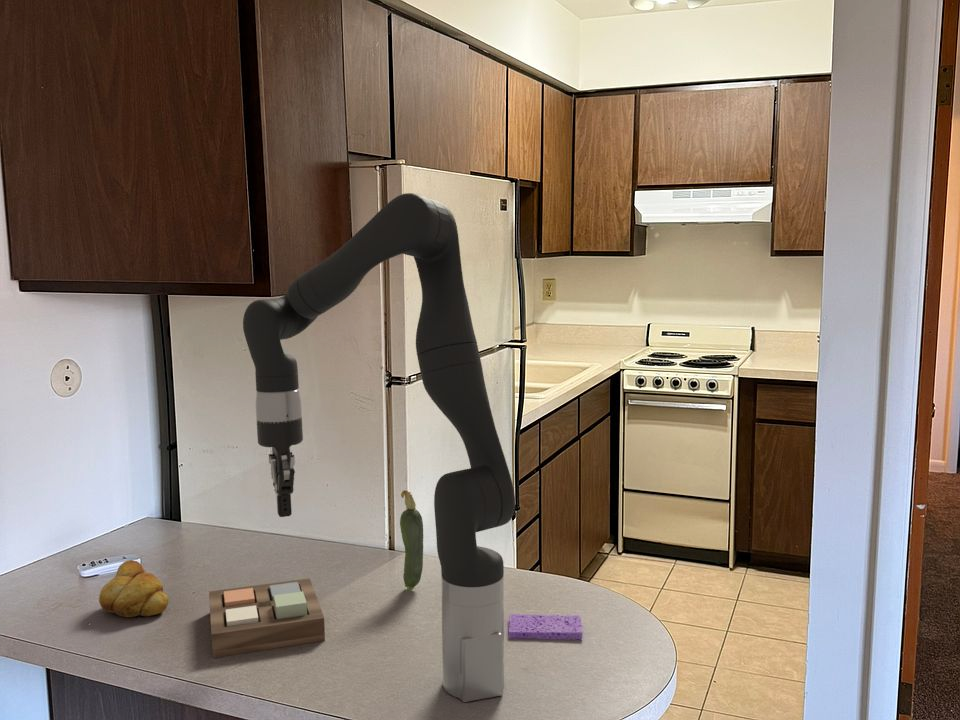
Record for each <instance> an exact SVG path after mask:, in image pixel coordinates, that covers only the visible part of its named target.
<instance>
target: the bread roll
mask: <svg viewBox="0 0 960 720" xmlns="http://www.w3.org/2000/svg"><path fill="white" fill-rule="evenodd" d="M162 583H163V582H162V581H161V580H160V579H159V578H158V577H157V576H155V575H154V574H153V573H150V572H146V570H145V568H144V566H143V565H142V564H141V562H139V561H137V560H135V559H134V560H133V559H130V560H126V561H123V562H122V563H120V565H119V566H118V568H117V570H116V573H115V576H114V577H113V578H112V579H110V580H109V581H108V582H106V584H105V585H104V586H103V587H101V588H102V589H100V593H99V596H98V597H99V599H98V601H99V605H100V607H101V608H102V610H103V611H106V612H107V613H112V614H116V615H117V616H120V617H125V618H132V617H134V618H135V617H136V616H140V615H141V617H142V616H143V617H151V616H155V615H158V614H161V613H163V612H164V611H166V609H167V607H168V605H169V595H167V594H166V593H165V592H164V586H163V584H162Z"/></svg>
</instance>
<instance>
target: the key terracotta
mask: <svg viewBox="0 0 960 720" xmlns="http://www.w3.org/2000/svg"><path fill="white" fill-rule="evenodd" d="M251 603H255V597H254V592H253V588H247V589H239V590H232V591H224V605H225V607H229V606H236V605H244V604H251Z"/></svg>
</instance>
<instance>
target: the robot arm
mask: <svg viewBox="0 0 960 720" xmlns="http://www.w3.org/2000/svg"><path fill="white" fill-rule="evenodd" d="M400 255H406V256H410V257H413V259H414V262H415V265H416V269H417V272H418V278H419V281H420V286H421V297H422V298H421V305H420V306H421V307H420V312H419V317H418V323H417V328H416V334H415V350H416V357H417V362H418V366H419V371H420V376H421V380H422V384H423V387H424V389H425V392H426V393H427V395H428V396H429V398H430V400H432V402H433V403H434V404H435V405H436V407H437V408H438V409H439V410H440V411H441V413H442V414H443V415H444V416H445V417H446V419H447V420H448V421H449V422H450V423H451V425H453V427H454V428H455V429H456V431H457V433H458V434H459V435H460V438H461V440H462V442H463V445H464V448H465V451H466V454H467V457H468V460H469V464H470V467H469V468H464V469H460V470H455V471H451V472H448V473H445V474H443V475H441V476H440V478H439V479H438V481H437V482H436V484H435V485H436V486H435V489H434V494H433V495H434V496H433V497H434V499H433V507H434V509H433V510H434V521H435V523H434V524H435V537H436V550H437V557H438V560H439V563H440V568H441V569H440V573H441V575H440V576H441V631H442V632H441V638H442V639H441V641H442V643H441V644H442V646H441V647H442V654H441V655H442V686H443V689H444V691H445V692H446V693H448V694H449V695H451V696H452V697H455V698H458V699H460V700H461V701H462V702H463V703H468V702H472V701H473V702H474V701H478V700H483V699H484V700H485V699H488V698H494V697H499V696H503V695H504V686H505V649H504V648H505V642H504V641H505V637H504V636H505V633H504V632H505V631H504V628H505V627H504V626H505V624H504V623H505V621H504V620H505V619H504V618H505V617H504V615H505V613H504V612H505V611H504V610H505V609H504V608H505V607H504V606H505V605H504V597H505V596H504V593H505V592H504V589H505V588H504V587H505V586H504V584H505V583H504V582H505V581H504V579H505V578H504V575H505V573H504V569H505V568H504V564H505V563H504V559H503V556H501V554H500V553H499V552H497V551H495V550H494V549H492V548H488V547H483V546H479V545H477V535H476V533H478V532H483V531H486V530H490V529H494V528H498V527H502V526H504V525H506V524H508V523H509V522H510V521H511V520H512V518H514V517H513V516H514V514H515V509H516V496H515V490H514V484H513V480H512V477H511V474H510V470H509V466H508V464H507V463H508V462H507V460H506V457H505V454H504V450H503V448H502V444H501V441H500V438H499V435H498V432H497V428H496V424H495V421H494V417H493V413H492V409H491V404H490V401H489V400H490V399H489V396H488V392H487V388H486V382H485V376H484V371H483V366H482V365H483V364H482V359H481V355H480V351H479V345H478V341H477V338H476V334H475V331H474V325H473V322H472V317H471V316H472V315H471V311H470V306H469V301H468V296H467V293H466V288H465V283H464V276H463V270H462V268H463V267H462V259H461V250H460V240H459V233H458V225H457V221H456V219H455V216H454V214H453V212H452V211H451V209H450V208H449V207H448V206H446V205H445V204H444V203H442V202H441V201H438V200H436V199H433V198H429V197H427V196H424V195H422V194H419V193H413V192H406V193H401V194H400V195H397V196H395V197H394V198H393V199H391V200H390V201H389V202H388V203H386V204H385V205H384V206H383V207H382V208H381V209H380V210H379V211H378V212H377V213H376V214H374V216H373V217H372V218H370V219H369V220H368V222H367V223H366V224H364V225H363V227H361V228H360V230H358V231H357V232H356V233H355V234H354V235H352V237H351V238H349V239H348V241H347V242H345V243H344V244H342V246H341V247H340V248H339V249H337V250H336V251H334V253H332V254H331V255H330V256H328V257H327V258H326V259H324V260H323V261H321V262H319V263H318V264H317V265H315V266H314V267H312V268H311V269H309V270H308V271H306V272H305V273H303V274H302V275H300V276H299V277H298V278H296V279H295V280H294V281H293V282H291V284H290V285H289V287H288V289H287V294H285V295H283V296H281V297H277V298H264V299H263V298H262V299H257V300H254V301H252V302H251V303H250V304H248V305H247V307H246V309H245V311H244V314H243V317H242V318H243V319H242V330H243V334H244V337H245V342H246V345H247V347H248V351H249V354H250V357H251V360H252V362H253V365H254V368H255V369H254V370H255V388H256V389H255V391H256V398H255V413H256V415H255V416H256V429H257V431H256V433H257V434H256V435H257V436H256V437H257V444H258V445H259V446H261V447H265V448H271V453H269V454H268V463H269V465H270V475H271V476H270V477H271V479H272V487H273V488H274V492H275V495H276V508H277V515H278V517H279V518H286V517H290V516H292V494H293V493H294V484H295V483H294V481H295V473H296V471H295V468H294V466H295V464H296V462H295V461H296V460H295V459H296V458H295V455H294V454H293V452H292V451H291V447H292V446H296V445H299V444H301V443H302V442H303V440H304V435H303V434H304V433H303V416H302V415H303V414H302V399H301V395H300V389H299V388H300V387H299V370H298V361H297V360H296V358H295V357H294V356H293V355H291V354H286V353H285V352H284V349H283V346H282V343H281V340H288V339H291V338H293V337H296V336H297V335H299V334H301V333H302V332H304V331H305V330H306V329H307V328H308V327H310V325H312V323H314V321H316V319H317V318H318V317H319V316H321V315H323V314H325V313H326V312H328V311H329V310H331V309H332V308H334V307H336V306H338V305H339V304H340V303H342V302H343V301H344V300H346V299H347V298H348V297H349V296H351V295H352V294H353V293H354V292H355V291H356V289H357V288H358V286H359V285H360V284H361V282H362V281H363V279H364V278H365V277H366V275H367V274H368V273H369V272H370V271H371V270H372V269H374V268H375V267H376V266H377V265H379V264H381V263H383V262H386V261H387V260H389V259H392V258H395V257H397V256H400Z"/></svg>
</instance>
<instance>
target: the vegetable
mask: <svg viewBox="0 0 960 720" xmlns="http://www.w3.org/2000/svg"><path fill="white" fill-rule="evenodd" d="M411 493H412V492H411V491H409V490H407V489H404V490H402V492H401V494H400V496H401V498H402V499H404V504H405V510H403V512H402V513H401V515H400V518H399V525H400V526H399V528H400V532H401V538H402V544H403V545H404V562H403V564H404V565H403V583H404V587H406V589H407V590H408V591H412V590H413V589H414V588H415V587H416V586H417V585H418V584H419V583H420V581H421V578H422V573H423V568H424V567H423V566H424V564H423V563H424V522H423V517H422V515H421V512H420V511H419V510H418V509H417V507H416V506H417V504H416V502H415V499H414V497H413V494H411Z"/></svg>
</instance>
